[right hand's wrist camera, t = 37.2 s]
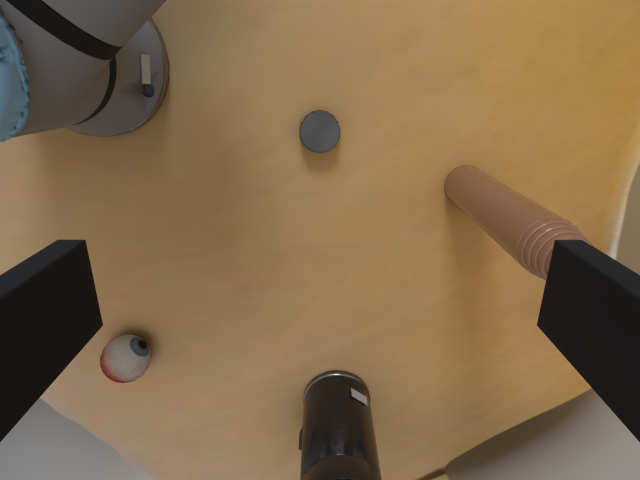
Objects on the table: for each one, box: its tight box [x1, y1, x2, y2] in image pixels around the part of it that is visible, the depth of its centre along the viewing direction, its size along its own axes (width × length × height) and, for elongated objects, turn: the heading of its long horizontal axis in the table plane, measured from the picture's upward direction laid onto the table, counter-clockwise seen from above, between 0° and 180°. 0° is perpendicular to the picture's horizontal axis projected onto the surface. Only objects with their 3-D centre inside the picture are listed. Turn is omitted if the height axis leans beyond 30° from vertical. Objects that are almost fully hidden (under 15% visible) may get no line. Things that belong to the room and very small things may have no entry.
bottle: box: [445, 165, 608, 280], centre depth 39 cm, size 5×5×25 cm
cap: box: [299, 110, 340, 152], centre depth 48 cm, size 4×4×2 cm
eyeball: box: [100, 335, 151, 383], centre depth 55 cm, size 6×6×6 cm
